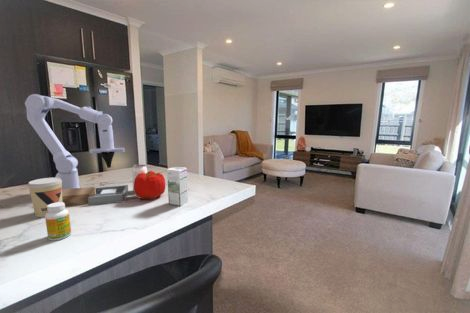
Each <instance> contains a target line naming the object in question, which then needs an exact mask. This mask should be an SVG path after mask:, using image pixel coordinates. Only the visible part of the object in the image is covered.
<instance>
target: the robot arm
mask: <svg viewBox="0 0 470 313" xmlns="http://www.w3.org/2000/svg"><path fill="white" fill-rule="evenodd" d="M24 106H25V107H26V119H27V121H28V122H29V124H30V125H31V127H32V128H33V129H34V131H35V132H36V134H37V135H38V137H39V138H40V139H41V140H42V142H43V144H44V145H45V147H47V149H48V150H49V152H50V153H51V155H52V157H53V158H52V159H53V160H52V161H53V162H54V164H55V168H56V171H58V172H57V173H56V175H55V178H60V179H61V180H62V189H74V188H83V186H81V187H80V181H79V172H78V168H77V167H78V166H79V161H78V159H77V158H76V157H75V156H73V154H71V153H70V152H69V151H68V150H66V148H65V147H64V145H63V144H62V143H61V141H60V140H59V138H58V137H57V135H56V134H55V132H53V130H52V129H51V127H50V125H49V124H48V122H47V121H46V116H47V114H48V112H49V111H50V110H51V109H61V110H63V111H67V112H69V113H74V114H76V115H78V116H79V118H80V119H82V120H85V121H88V122H91V123H93V124H98V134H99V143H100V145H99V146H100V148H90V149H89V154H100V156H101V157H102V158H103V160H104V163H105V164H106V168H107V169H109V168H111V167H112V161H113V158H114V155H115V153H125V147H115V141H114V130H113V125H112V124H113V121H114V120H113V117H112V116H111V115H109V114H108V113H103V112H104V111H101V110H100V111H99V110H96V109H93V108H92V107H91V106H82V107H79V106H77V105H74V104H71V103H69V102H66V101H64V100H62V99H58V98H54V97H50V96H46V95H40V94H38V93H32V94H30V95H29V96H28V97H26V100H25V102H24Z"/></svg>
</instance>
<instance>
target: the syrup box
mask: <svg viewBox="0 0 470 313" xmlns="http://www.w3.org/2000/svg"><path fill="white" fill-rule="evenodd" d="M187 170H188V168H187V167H184V166H183V167H181V166H173V167H169V168H168V169H166V173H167V174H166V177H167V190H168V191H167V194H168V196H167V197H168V205H171V206H177V207H182V206H184V205H185V204H186V203H188V202H189V199H188V198H189V196H188V172H187ZM187 201H188V202H187ZM184 203H185V204H184Z"/></svg>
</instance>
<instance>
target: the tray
mask: <svg viewBox="0 0 470 313" xmlns="http://www.w3.org/2000/svg"><path fill="white" fill-rule="evenodd" d="M108 189H117V194H115V195H104V196H100V193H101V192H102V190H108ZM128 193H129V185H128V184H123V185H113V186H101V187H99V186H98V187H95V196H94V197H88V202H89V204H88V205H89V206H96V205H102V204H103V205H104V204H111V203H112V204H113V203H121V202H126V200H127V197H128Z"/></svg>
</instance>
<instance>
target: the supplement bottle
mask: <svg viewBox="0 0 470 313" xmlns="http://www.w3.org/2000/svg"><path fill="white" fill-rule="evenodd" d="M47 210H48V211H49V212H48V213H47V214H46V215H45V217H44V220H45V224H46V232H47V233H46V234H47V239H48V240H50V241H59V240H64V239H66V238H68V237H70V236H71V235H72V228H71V221H70V220H71V219H70V212H69V210H68V209H67V208H66V206H65V203H64V202H56V203H52V204H49V205H47Z"/></svg>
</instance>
